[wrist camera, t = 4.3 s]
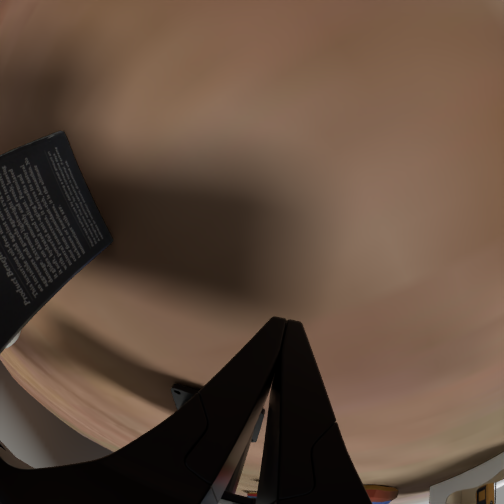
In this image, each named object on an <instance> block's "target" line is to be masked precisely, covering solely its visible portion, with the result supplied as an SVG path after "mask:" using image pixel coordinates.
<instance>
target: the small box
mask: <svg viewBox="0 0 504 504" xmlns="http://www.w3.org/2000/svg"><path fill="white" fill-rule="evenodd" d="M112 242H113V239H112V237H111V234H110V232H109V230H108V229H107V227H106V225H105V223H104V221H103V219H102V217H101V215H100V213H99V211H98V209H97V207H96V204H95V202H94V200H93V198H92V196H91V194H90V192H89V190H88V187H87V185H86V183H85V181H84V178H83V176H82V174H81V172H80V169H79V167H78V165H77V162H76V160H75V158H74V155H73V152H72V150H71V147H70V145H69V142H68V140H67V137H66V135H65V133H64V132H63V131H58V132H56V133H53V134H51V135H48V136H45V137H43V138H40V139H37V140H35V141H33V142H30V143H27V144H25V145H23V146H20V147H18V148H15V149H13V150H10V151H9V152H6V153H4V154H2V155H0V353H1V352H2V351H3V350H4V349H5V348H6V347H7V345H8V344H9V343H10V342H11V341H12V340H13V338H14V337H15V336H16V335H17V334H18V333H19V332H20V330H21V329H22V328H23V327H24V326H25V325H26V324H27V323H28V322H29V320H30V319H31V318H32V317H33V316H34V315H35V314H36V313H37V312H38V311H39V310H40V309H41V308H42V307H43V306H44V305H45V304H46V303H47V302H48V301H49V300H50V299H51V298H52V297H53V296H54V295H55V294H56V293H57V292H58V291H59V290H60V289H61V288H62V287H63V286H64V285H65V284H66V283H67V282H68V281H69V280H71V279H72V278H73V277H74V276H75V275H76V274H77V273H78V272H79V271H80V270H82V269H83V268H84V267H85V266H86V265H87V264H88V263H89V262H91V261H92V260H93V259H94V258H95V257H96V256H97V255H98V254H100V253H101V252H102V251H103V250H104V249H105V248H106V247H108V246H109V245H110V244H111V243H112Z"/></svg>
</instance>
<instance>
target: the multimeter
mask: <svg viewBox="0 0 504 504" xmlns="http://www.w3.org/2000/svg"><path fill="white" fill-rule="evenodd" d="M495 500H496V483H495ZM476 504H494V483H489V484H485V485H483V486H481V487H479V488H478V490H477V491H476Z"/></svg>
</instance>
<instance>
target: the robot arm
mask: <svg viewBox="0 0 504 504" xmlns="http://www.w3.org/2000/svg"><path fill="white" fill-rule="evenodd" d="M286 322H287V323H286ZM271 384H272V386H271ZM270 388H271V392H270V400H269V408H268V417H267V425H266V433H265V441H264V449H263V456H262V464H261V471H260V478H259V485H258V492H257V498H254V497H252V498H249V497H244V496H240V495H236V494H235V492H236V489H237V486H238V482H239V479H240V476H241V473H242V470H243V466H244V463H245V460H246V456H247V453H248V450H249V446H250V443H251V442H256V441H257V438H258V435H259V431H260V428H261V424H262V421H263V418H264V414H265V410H264V409H263V406H264V403H265V401H266V399H267V396H268V393H269V391H270ZM171 392H172V395H173V398H174V401H175V404H176V407H177V411H176V412H175V413H174V414H172V415H171V416H170V417H168V418H167V419H166V420H164V421H163V422H161V423H160V424H159V425H157V426H156V427H154V428H153V429H151V430H150V431H148V432H147V433H145V434H143V435H142V436H140V437H139V438H137V439H136V440H134V441H132V442H131V443H129V444H127V445H126V446H124V447H123V448H121V449H119V450H117V451H116V452H114V453H112V454H110V455H107V456H105V457H102V458H99V459H96V460H92V461H86V462H81V463H76V464H70V465H63V466H56V467H48V468H37V469H35V468H33V467H31V466H29V465H28V464H26V463H24V462H23V461H21V460H19V459H18V458H16V457H15V456H14V455H13V454H12V453H11V452H10V451H9V449H8V448H6V446H5V445H4V444H3V443H2V442H1V441H0V504H217V503H221V504H372V502H371V500H370V498H369V496H368V494H367V492H366V490H365V488H364V486H363V483H362V481H361V479H360V477H359V475H358V473H357V471H356V469H355V467H354V465H353V463H352V460H351V458H350V456H349V454H348V452H347V449H346V446H345V444H344V441H343V438H342V435H341V433H340V430H339V427H338V424H337V422H336V418H335V415H334V412H333V409H332V406H331V403H330V400H329V398H328V395H327V392H326V389H325V386H324V383H323V380H322V377H321V375H320V372H319V369H318V366H317V363H316V360H315V358H314V355H313V352H312V349H311V346H310V344H309V341H308V338H307V335H306V333H305V330H304V327H303V324H302V323H301V322H300V321H295V320H286V319H285V318H280V317H275V316H274V317H272V318H271V319H270V320H269V321H268V322H267V323H266V324H265V325H264V326H263V327H262V328H261V329H260V330H259V331H258V332H257V333H256V335H255V336H254V337H253V338H252V339H251V340H250V341H249V342H248V343H247V344H246V345H245V346H244V347H243V348H242V349H241V350H240V351H239V352H238V353H237V354H236V355H235V356H234V357H233V358H232V359H231V360H230V361H229V362H228V363H227V364H226V365H225V366H224V367H223V368H222V369H221V370H220V371H219V372H218V373H217V374H216V375H215V376H214V377H213V378H212V379H211V380H210V381H209V382H208V383H207V384H206V385H205V386H204V387H203V388H202V389H201V390H199V391H198V390H194V389H191V388H188V387H185V386H182V385H179V384H173V386H172V388H171Z"/></svg>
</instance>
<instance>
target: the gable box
mask: <svg viewBox="0 0 504 504" xmlns="http://www.w3.org/2000/svg"><path fill="white" fill-rule="evenodd" d="M503 479H504V452H502V453H501V454H499V455H497V456H495V457H494V458H492V459H490V460H488V461H486V462H484V463H482V464H481V465H479V466H477V467H475V468H473V469H470V470H468V471H466V472H464V473H462V474H460V475H457V476H455V477H453V478H450V479H448V480H446V481H443V482H440V483H438V484H435V485H432V486H430V499H429V504H476V491H477V490H478V488H479V487H481V486H483V485H485V484H489V483H495V482H498V481H500V480H503Z"/></svg>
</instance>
